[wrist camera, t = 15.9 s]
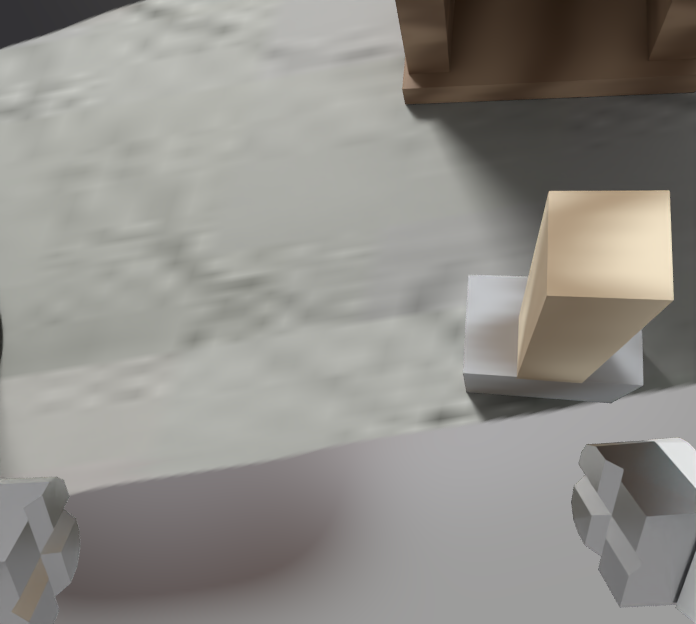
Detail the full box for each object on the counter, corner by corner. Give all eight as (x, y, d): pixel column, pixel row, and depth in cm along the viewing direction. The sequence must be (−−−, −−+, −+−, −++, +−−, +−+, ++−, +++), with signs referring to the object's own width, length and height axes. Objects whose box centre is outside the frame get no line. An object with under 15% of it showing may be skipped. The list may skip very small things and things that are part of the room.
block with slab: (448, 292, 14) (459, 127, 15) (466, 392, 30) (470, 310, 31) (791, 304, 12) (774, 117, 13) (611, 403, 28) (610, 317, 29)
